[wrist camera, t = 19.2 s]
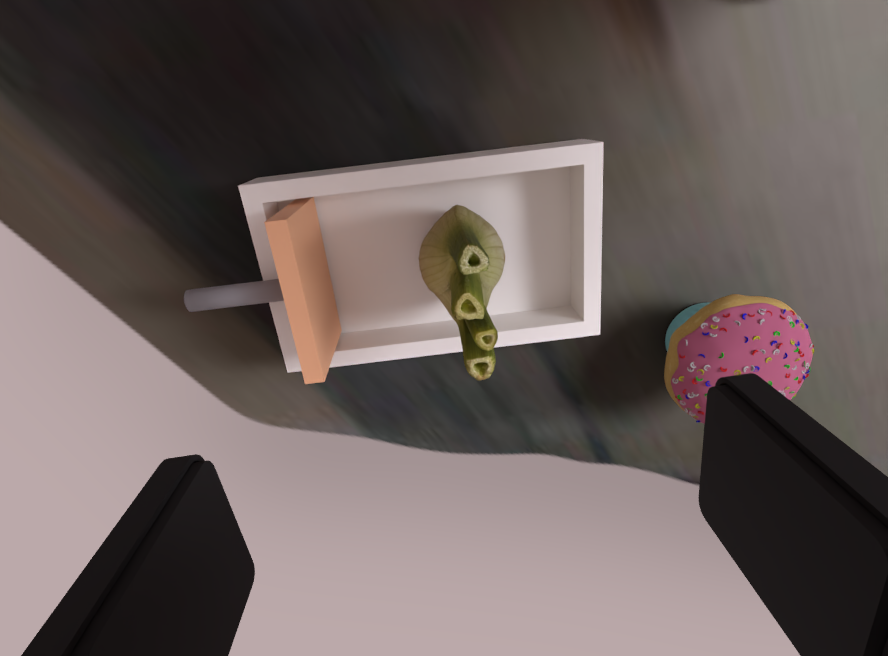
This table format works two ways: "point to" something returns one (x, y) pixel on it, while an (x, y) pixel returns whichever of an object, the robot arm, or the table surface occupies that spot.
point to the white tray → (408, 222)
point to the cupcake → (734, 348)
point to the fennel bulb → (465, 280)
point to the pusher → (290, 287)
